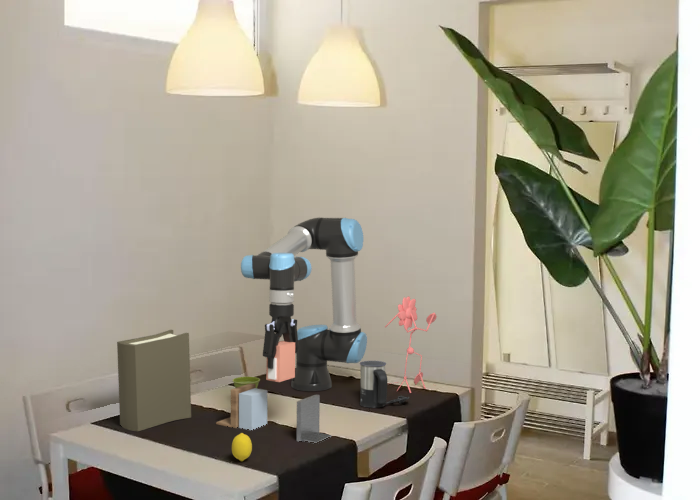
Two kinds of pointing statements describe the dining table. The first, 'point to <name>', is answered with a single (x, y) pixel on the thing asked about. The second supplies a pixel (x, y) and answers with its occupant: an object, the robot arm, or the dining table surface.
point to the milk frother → (375, 385)
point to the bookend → (309, 420)
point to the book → (154, 380)
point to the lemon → (241, 447)
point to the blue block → (252, 409)
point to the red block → (284, 361)
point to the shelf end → (235, 406)
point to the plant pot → (245, 381)
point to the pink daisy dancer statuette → (406, 318)
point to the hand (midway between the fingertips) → (280, 376)
